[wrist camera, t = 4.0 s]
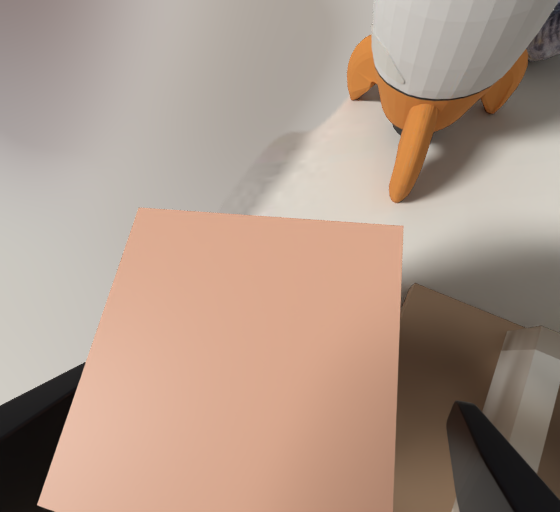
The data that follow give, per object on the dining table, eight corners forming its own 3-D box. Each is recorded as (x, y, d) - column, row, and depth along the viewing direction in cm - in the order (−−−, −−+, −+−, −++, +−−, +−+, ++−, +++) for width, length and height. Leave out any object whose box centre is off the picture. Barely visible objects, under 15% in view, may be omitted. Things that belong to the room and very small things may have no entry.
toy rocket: (494, 93, 21) (970, -410, 6) (452, 234, 20) (886, 65, 5) (353, 60, 22) (447, -418, 7) (308, 191, 21) (309, -44, 6)
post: (345, 411, 15) (388, 630, 3) (261, 393, 16) (36, 505, 4) (352, 322, 16) (403, 226, 4) (275, 311, 17) (138, 207, 5)
